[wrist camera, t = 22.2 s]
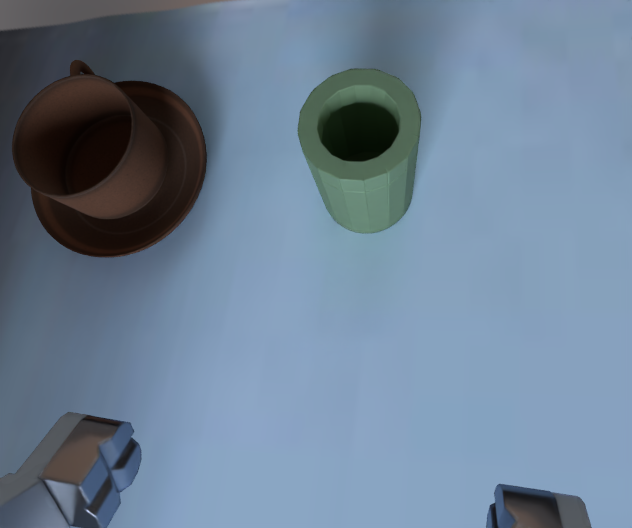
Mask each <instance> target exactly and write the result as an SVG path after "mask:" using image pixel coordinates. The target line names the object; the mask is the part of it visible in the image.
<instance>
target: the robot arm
mask: <svg viewBox="0 0 632 528" xmlns="http://www.w3.org/2000/svg"><path fill="white" fill-rule="evenodd" d="M133 433H134V429H133V427H132V425H131V423H130V422H124V421H118V420H113V419H107V418H101V417H95V416H91V415H86V414H79V413H73V412H68V413H66V414H65V415H63V416H62V417H61V418H60V419H59V420H58V421H57V422H56V424H55V425H54V426H53V427H52V429H51V430H50V431H49V432H48V434H47V435H46V436H45V437H44V439H43V440H42V441H41V442H40V444H39V445H38V446H37V447H36V449H35V450H34V451H33V452H32V454H31V455H30V456H29V457H28V458H27V460H26V461H25V462H24V463H23V465H22V466H21V467H20V468H19V470H18V471H17V472H16V473H15V474H12V473H9V474H7V475H5V476H4V477H2V478H0V528H70V526H74V527H80V528H107V527H108V525H109V523H110V521H111V520H112V518H113V516H114V514H115V513H116V511H117V509H118V507H119V506H120V504H121V499H120V492H122V491H123V490H124V489H126V488H127V487H129V486H130V485H131V484H132V482H133V481H134V479H135V477H136V475H137V473H138V470H139V467H140V463H141V448H140V445H139V443H138V442H136V441H135V440H134V439H133V438H132V437H131V436H132V435H133ZM494 497H495V503H494V504H492V505H490V507H489V511H488V514H487V524H486V528H592V527H591V524H590V520H589V517H588V513H587V510H586V506H585V504H584V502H583V501H582V499H581V498H580V497H578V496H573V495H567V494H560V493H554V492H550V491H545V490H538V489H531V488H525V487H518V486H511V485H505V484H498V485H497V486H496V489H495V492H494Z"/></svg>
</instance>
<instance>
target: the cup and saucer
mask: <svg viewBox="0 0 632 528" xmlns="http://www.w3.org/2000/svg"><path fill="white" fill-rule="evenodd" d="M80 72H82V73H84V74H80ZM12 154H13V160H14V164H15V167H16V169H17V171H18V173H19V175H20V176H21V178H22V179H23V180H24V182H25V183H26V184H27V185H29V186H30V187H31V194H32V200H33V205H34V208H35V211H36V213H37V216H38V218H39V220H40V222H41V223H42V225H43V227H44V228H45V229H46V231H47V232H48V233H49V234H50V235H51V236H52V237H53V238H54V239H55V240H56V241H57V242H59V243H60V244H61V245H63V246H65V247H66V248H68V249H70V250H72V251H74V252H77V253H80V254H83V255H88V256H94V257H120V256H125V255H130V254H133V253H136V252H139V251H142V250H144V249H146V248H148V247H150V246H152V245H154V244H156V243H157V242H159V241H161V240H162V239H163V238H165V237H166V236H167V235H169V234H170V233H171V232H172V231H173V230H174V229H175V228H176V227H177V226H178V225H179V224H180V223H181V222H182V221H183V220H184V218H185V217H186V216H187V214H188V213H189V212H190V210H191V208H192V207H193V205H194V203H195V201H196V200H197V198H198V195H199V193H200V190H201V188H202V184H203V181H204V177H205V172H206V163H207V153H206V144H205V139H204V135H203V132H202V129H201V126H200V124H199V122H198V120H197V118H196V116H195V114H194V113H193V111H192V110H191V109H190V107H189V106H188V105H187V104H186V103H185V102H184V101H183V100H182V99H181V98H180V97H179V96H178V95H176V94H175V93H173V92H172V91H170V90H168V89H166V88H164V87H162V86H159V85H156V84H153V83H149V82H143V81H122V82H115V83H113V82H112V81H110V80H108V79H106V78H103V77H101V76H97V75H95V74H94V72H93V71H92V70H91V69H90V67H89V66H88V65H87V64H85V63H84V62H82V61H80V60H74V61H73V62H72V63H71V65H70V76H69V77H65V78H62V79H60V80H58V81H55V82H53V83H52V84H50V85H48V86H47V87H45V88H44V89H43V90H41V91H40V92H39V93H38V94H37V95H36V96H35V97H34V98H33V99H32V100H31V101H30V102H29V103H28V105H27V106H26V107H25V109H24V110H23V112H22V114H21V116H20V118H19V120H18V122H17V125H16V127H15V131H14V135H13V141H12Z"/></svg>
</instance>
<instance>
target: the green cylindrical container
mask: <svg viewBox="0 0 632 528" xmlns="http://www.w3.org/2000/svg"><path fill="white" fill-rule="evenodd" d="M420 125H421V112H420V109H419V107H418V104H417V101H416V98H415V96H414V94H413V92H412V91H411V90H410V89H409V88H408V87H407V86H406V85H405V84H404V83H403V82H402V81H401V80H400V79H399V78H397V77H395V76H392V75H390V74H387V73H385V72H382V71H380V70H376V69H349V70H347V71H344V72H341V73H338V74H335V75H332V76H331V77H329V78H327V79H326V80H325V81H324V82H322V83H321V84H320V85H319V86H317V87H316V88H315V89H314V90H313V91H312V92H311V94H310V95H309V97H308V99H307V100H306V102H305V104H304V105H303V107H302V109H301V111H300V117H299V124H298V136H299V140H300V143H301V147H302V150H303V153H304V155H305V158H306V160H307V163H308V165H309V168H310V170H311V172H312V175H313V177H314V180H315V182H316V184H317V187H318V189H319V192H320V194H321V196H322V199H323V201H324V204H325V206H326V208H327V210H328V211H329V213H330V215H331V216H332V217H333V219H334V220H335V221H336V222H337V223H339V224H340V225H341V226H343V227H344V228H346V229H348V230H351V231H354V232H358V233H375V232H379V231H382V230H385V229H387V228H389V227H391V226H392V225H394V224H395V223H397V222H398V221H399V220H400V219H401V218H402V216H403V215H404V214H405V212H406V211H407V209H408V207H409V205H410V201H411V199H412V192H413V184H414V176H415V168H416V161H417V153H418V144H419V136H420Z"/></svg>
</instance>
